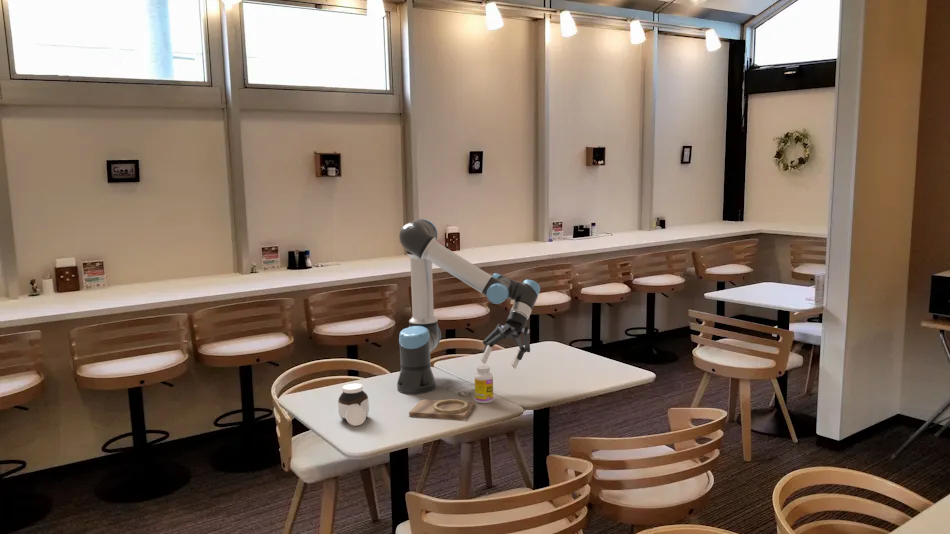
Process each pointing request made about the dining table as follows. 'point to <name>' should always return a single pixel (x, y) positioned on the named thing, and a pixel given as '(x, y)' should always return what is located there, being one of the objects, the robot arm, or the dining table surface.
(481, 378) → the supplement bottle
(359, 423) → the spread jar
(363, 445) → the dining table surface
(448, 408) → the seat board
